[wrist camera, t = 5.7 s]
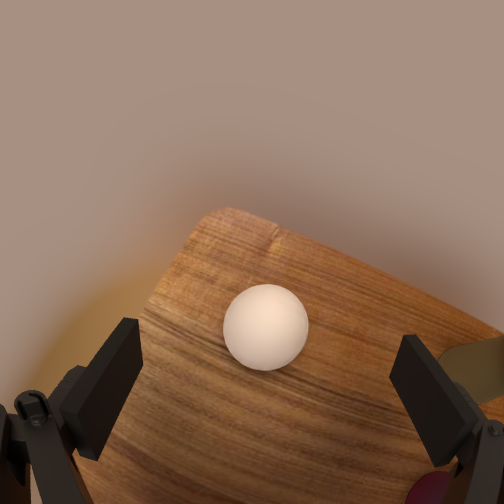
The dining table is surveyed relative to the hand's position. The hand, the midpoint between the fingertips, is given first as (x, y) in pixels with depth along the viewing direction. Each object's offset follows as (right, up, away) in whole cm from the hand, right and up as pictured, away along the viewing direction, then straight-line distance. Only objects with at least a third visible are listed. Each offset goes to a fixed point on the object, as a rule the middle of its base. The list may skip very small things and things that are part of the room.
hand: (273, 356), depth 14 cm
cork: (+17, -6, +7) cm, 20 cm away
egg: (0, -2, +9) cm, 9 cm away
